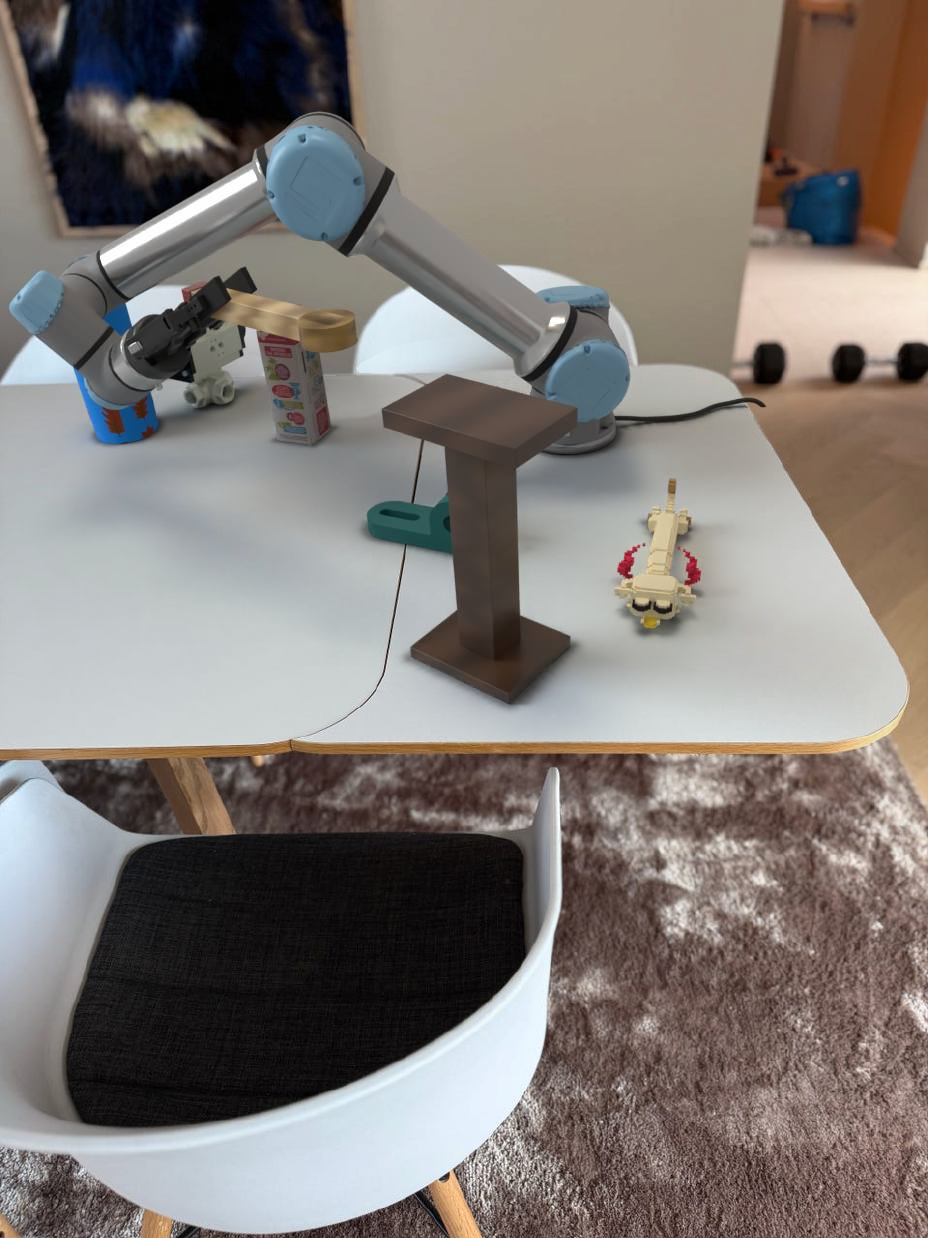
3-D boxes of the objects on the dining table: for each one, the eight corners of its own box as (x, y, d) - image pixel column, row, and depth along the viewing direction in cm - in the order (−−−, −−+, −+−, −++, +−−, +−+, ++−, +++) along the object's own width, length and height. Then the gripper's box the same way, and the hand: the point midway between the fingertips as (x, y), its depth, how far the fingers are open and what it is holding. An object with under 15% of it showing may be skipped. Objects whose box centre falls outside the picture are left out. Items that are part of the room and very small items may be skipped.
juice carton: (297, 423, 157) (273, 294, 144) (331, 427, 155) (310, 297, 142) (277, 440, 152) (251, 308, 139) (312, 445, 150) (289, 311, 137)
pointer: (176, 315, 105) (170, 292, 103) (217, 299, 109) (212, 277, 107) (329, 356, 92) (325, 331, 90) (370, 338, 96) (367, 313, 94)
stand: (404, 653, 105) (373, 412, 87) (468, 602, 113) (452, 369, 95) (516, 708, 97) (508, 453, 79) (578, 649, 104) (583, 403, 86)
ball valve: (196, 424, 159) (170, 324, 148) (161, 416, 163) (134, 317, 152) (264, 386, 171) (244, 290, 160) (230, 379, 175) (209, 285, 164)
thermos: (172, 423, 160) (133, 278, 145) (125, 449, 153) (78, 299, 138) (130, 412, 165) (88, 270, 150) (83, 436, 158) (33, 290, 143)
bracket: (497, 532, 125) (495, 482, 120) (477, 558, 120) (474, 506, 116) (382, 511, 132) (376, 462, 127) (359, 534, 127) (352, 484, 122)
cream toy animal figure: (631, 529, 126) (605, 625, 106) (635, 470, 121) (609, 560, 101) (705, 536, 124) (693, 636, 104) (712, 476, 119) (701, 569, 99)
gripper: (215, 358, 124) (305, 295, 106) (114, 401, 114) (195, 338, 96) (186, 306, 122) (273, 232, 104) (81, 344, 112) (157, 270, 94)
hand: (235, 283), depth 100 cm, fingers closed on pointer, 3 cm apart
